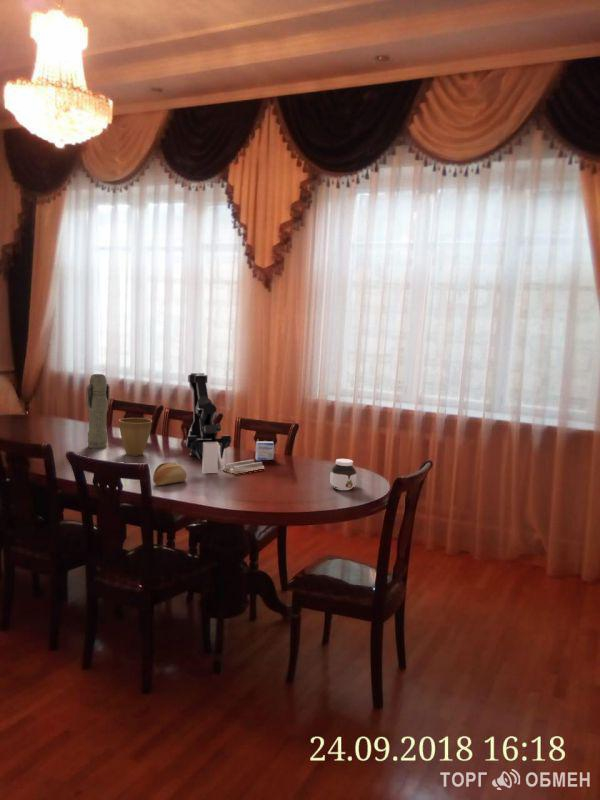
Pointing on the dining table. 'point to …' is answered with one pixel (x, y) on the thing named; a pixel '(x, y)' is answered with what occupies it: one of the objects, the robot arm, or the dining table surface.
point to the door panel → (210, 457)
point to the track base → (243, 466)
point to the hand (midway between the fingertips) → (210, 458)
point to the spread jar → (343, 474)
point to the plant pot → (135, 434)
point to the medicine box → (264, 450)
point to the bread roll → (169, 474)
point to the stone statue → (97, 410)
